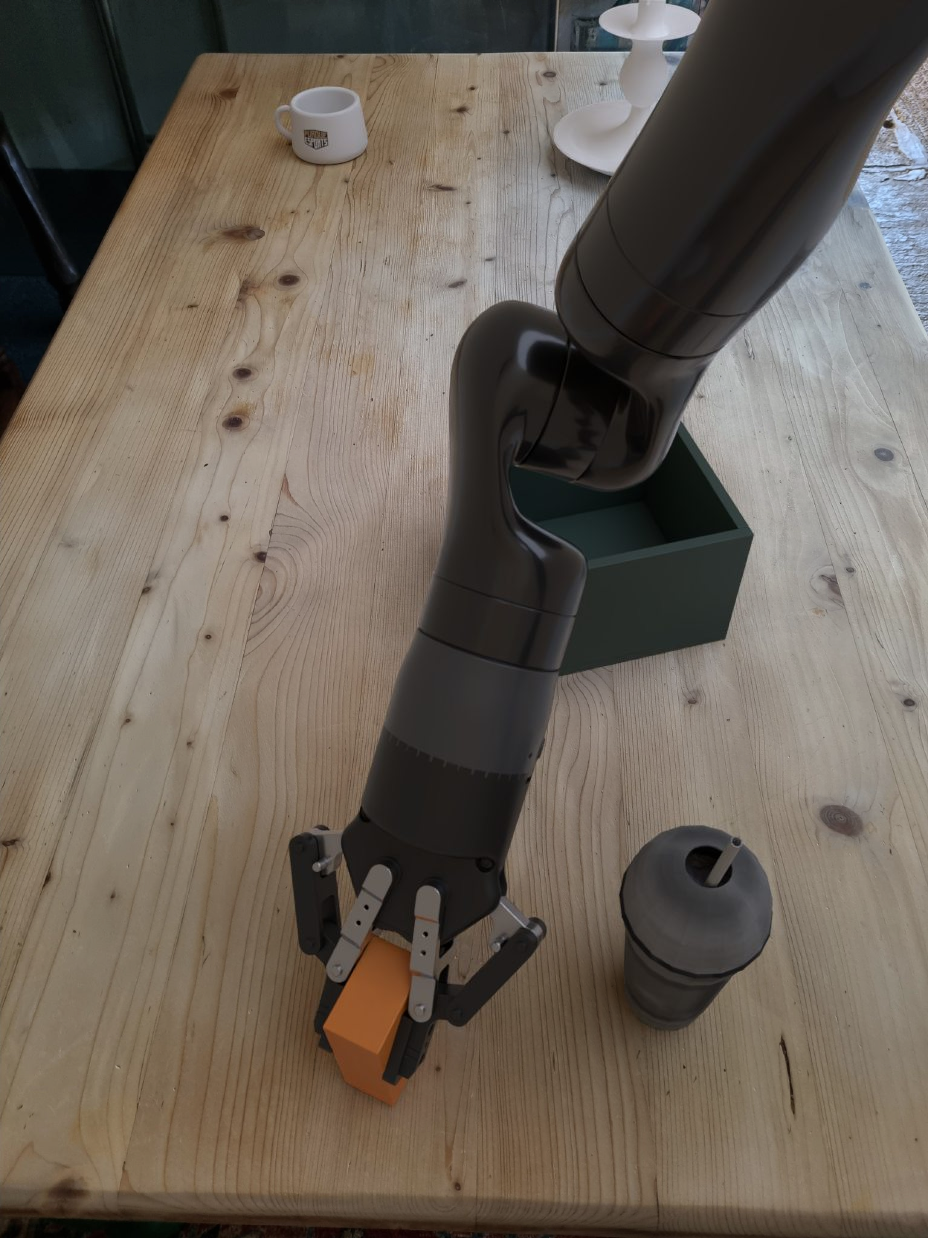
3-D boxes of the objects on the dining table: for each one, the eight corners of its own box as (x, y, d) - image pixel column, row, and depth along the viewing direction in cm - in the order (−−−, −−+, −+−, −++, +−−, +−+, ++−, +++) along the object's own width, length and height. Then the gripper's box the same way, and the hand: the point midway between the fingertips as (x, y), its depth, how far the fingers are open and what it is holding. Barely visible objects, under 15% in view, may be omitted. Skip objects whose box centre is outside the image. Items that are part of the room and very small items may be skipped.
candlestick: (541, 213, 114) (551, -72, 93) (558, 120, 130) (571, -142, 109) (722, 222, 112) (775, -69, 91) (718, 126, 128) (762, -141, 107)
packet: (435, 1020, 55) (426, 958, 48) (394, 1108, 52) (377, 1055, 46) (388, 997, 56) (372, 933, 49) (345, 1082, 53) (321, 1027, 47)
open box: (725, 639, 73) (754, 534, 65) (522, 684, 71) (525, 582, 62) (648, 499, 83) (664, 393, 74) (467, 536, 80) (464, 430, 72)
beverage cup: (704, 919, 59) (777, 730, 44) (748, 1044, 54) (846, 881, 39) (586, 940, 58) (617, 756, 43) (619, 1069, 54) (668, 913, 38)
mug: (378, 135, 129) (373, 86, 124) (355, 169, 123) (349, 119, 118) (291, 128, 131) (284, 79, 126) (264, 161, 125) (256, 111, 120)
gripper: (297, 696, 46) (204, 1031, 48) (583, 807, 42) (466, 1169, 44) (365, 681, 53) (281, 974, 55) (614, 775, 49) (513, 1087, 51)
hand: (364, 1058), depth 49 cm, fingers closed on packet, 3 cm apart
